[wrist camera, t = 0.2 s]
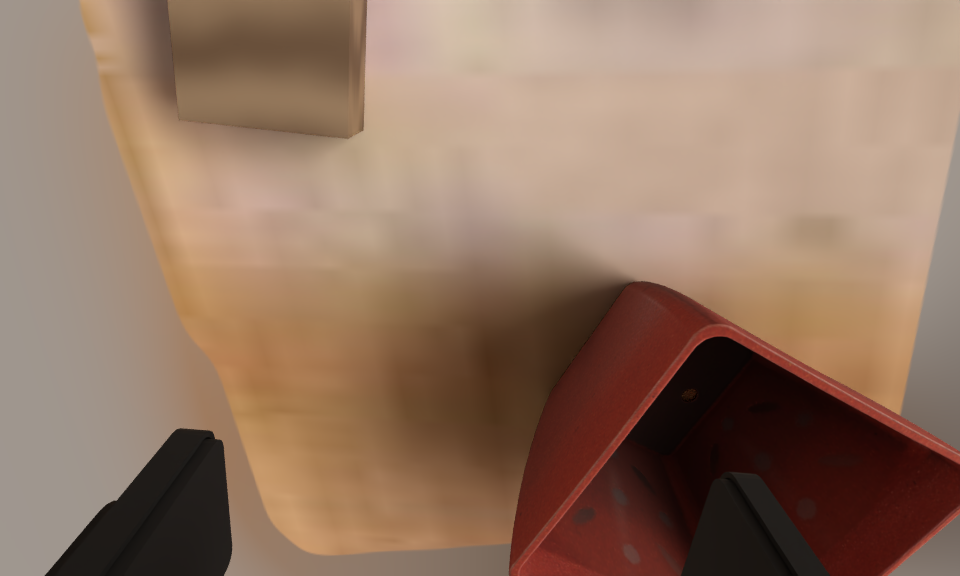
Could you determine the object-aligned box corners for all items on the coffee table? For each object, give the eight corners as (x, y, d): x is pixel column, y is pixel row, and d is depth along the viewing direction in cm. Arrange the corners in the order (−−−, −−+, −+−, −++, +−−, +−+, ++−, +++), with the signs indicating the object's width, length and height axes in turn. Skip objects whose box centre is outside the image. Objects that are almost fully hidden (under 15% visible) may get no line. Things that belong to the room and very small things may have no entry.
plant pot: (491, 411, 46) (500, 585, 30) (618, 220, 40) (712, 317, 24) (670, 494, 50) (761, 689, 34) (812, 332, 44) (1002, 478, 28)
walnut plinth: (204, -57, 33) (159, -77, 28) (367, -36, 34) (350, -53, 29) (215, 113, 37) (178, 120, 32) (363, 130, 37) (347, 138, 33)
